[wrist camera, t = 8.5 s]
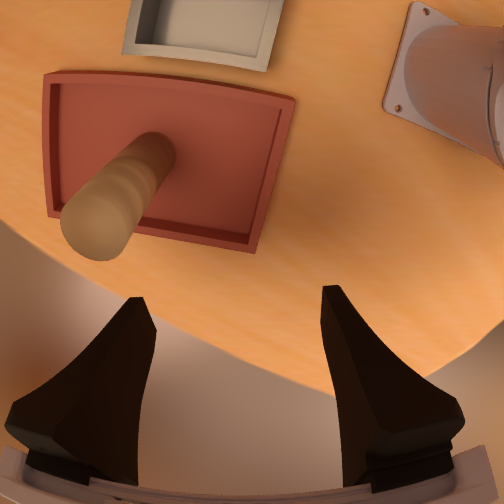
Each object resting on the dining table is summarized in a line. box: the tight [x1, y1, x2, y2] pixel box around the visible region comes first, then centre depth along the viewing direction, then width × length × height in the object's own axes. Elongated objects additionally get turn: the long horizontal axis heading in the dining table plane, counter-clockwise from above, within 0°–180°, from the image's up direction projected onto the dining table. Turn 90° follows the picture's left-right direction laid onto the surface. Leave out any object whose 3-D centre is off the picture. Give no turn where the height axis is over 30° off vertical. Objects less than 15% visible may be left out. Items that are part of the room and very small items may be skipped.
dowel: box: [60, 132, 176, 261], centre depth 15 cm, size 3×3×9 cm
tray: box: [42, 71, 296, 254], centre depth 19 cm, size 15×10×2 cm
